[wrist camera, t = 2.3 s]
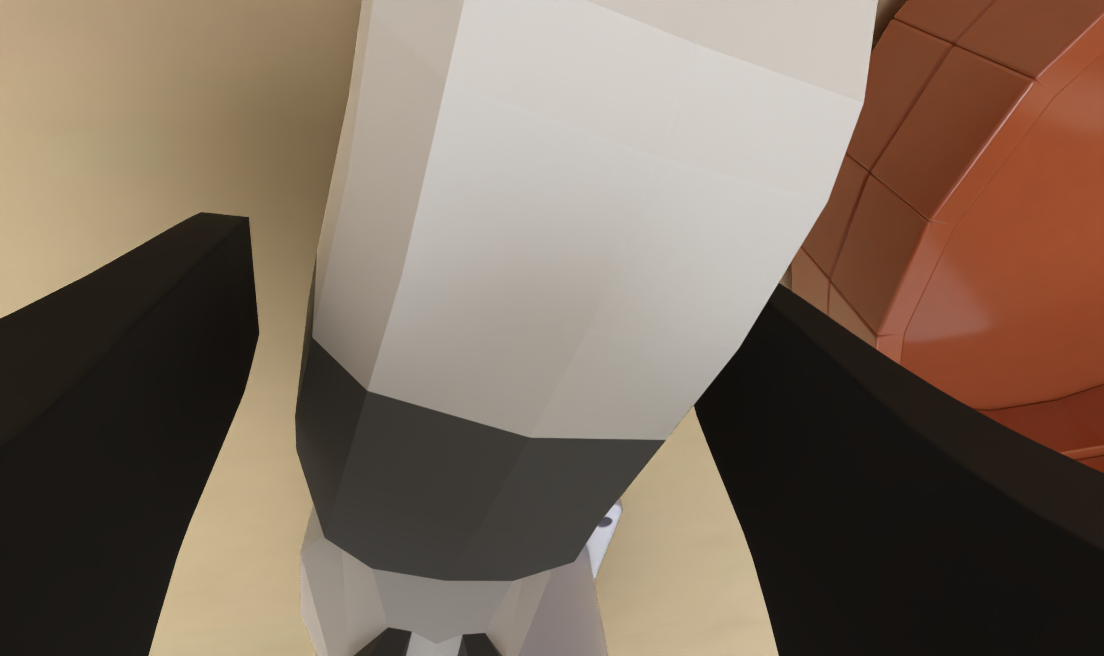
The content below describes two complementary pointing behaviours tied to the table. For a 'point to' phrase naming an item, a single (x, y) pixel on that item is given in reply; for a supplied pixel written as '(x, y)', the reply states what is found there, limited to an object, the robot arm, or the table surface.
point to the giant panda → (540, 282)
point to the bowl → (979, 213)
